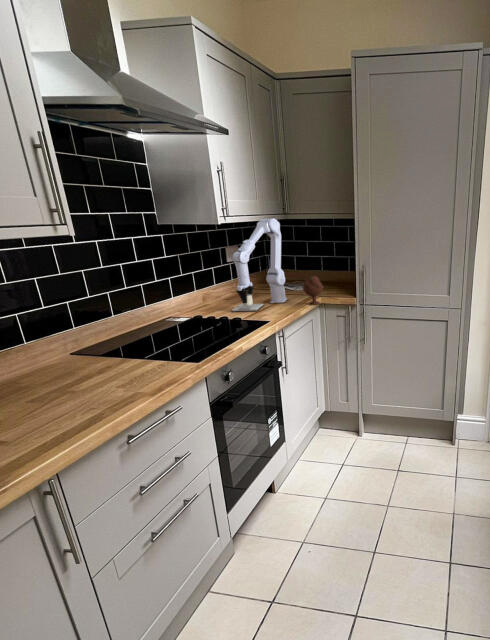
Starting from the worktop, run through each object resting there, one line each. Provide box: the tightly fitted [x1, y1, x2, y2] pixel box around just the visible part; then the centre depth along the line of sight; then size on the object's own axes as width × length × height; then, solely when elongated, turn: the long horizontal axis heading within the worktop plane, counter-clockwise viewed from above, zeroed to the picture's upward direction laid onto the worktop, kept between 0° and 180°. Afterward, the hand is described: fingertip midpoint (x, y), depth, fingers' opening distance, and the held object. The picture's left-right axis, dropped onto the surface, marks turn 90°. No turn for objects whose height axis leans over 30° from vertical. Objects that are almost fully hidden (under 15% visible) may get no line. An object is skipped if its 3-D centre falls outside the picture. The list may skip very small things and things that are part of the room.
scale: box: [231, 303, 265, 313], centre depth 231 cm, size 14×13×1 cm
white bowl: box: [240, 293, 254, 306], centre depth 229 cm, size 6×6×5 cm
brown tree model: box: [302, 275, 324, 306], centre depth 236 cm, size 11×11×15 cm
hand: (247, 301), depth 230 cm, fingers closed on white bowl, 5 cm apart
